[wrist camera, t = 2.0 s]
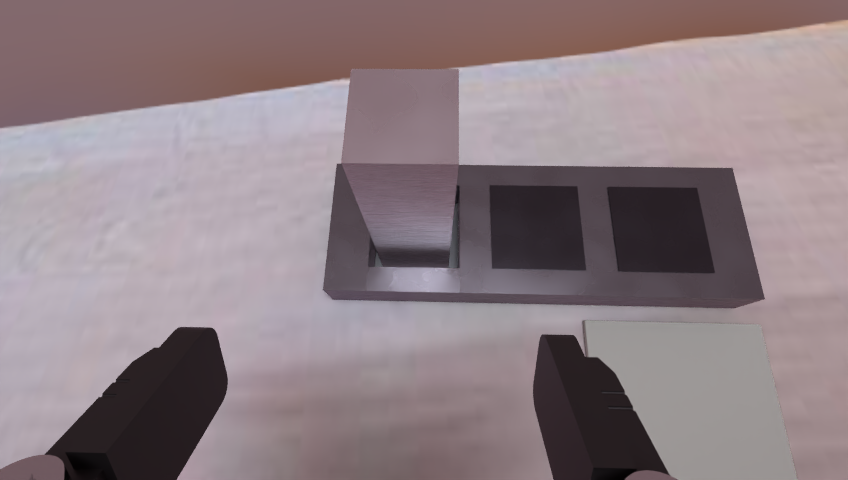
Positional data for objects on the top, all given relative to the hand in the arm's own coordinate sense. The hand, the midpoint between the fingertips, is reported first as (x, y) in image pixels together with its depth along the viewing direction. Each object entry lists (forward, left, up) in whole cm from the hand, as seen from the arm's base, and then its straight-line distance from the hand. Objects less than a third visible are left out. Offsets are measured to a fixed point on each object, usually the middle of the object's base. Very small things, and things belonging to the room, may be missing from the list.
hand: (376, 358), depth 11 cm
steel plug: (0, -9, -15) cm, 17 cm away
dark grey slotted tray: (-7, -9, -15) cm, 18 cm away
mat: (-15, +1, -15) cm, 21 cm away
